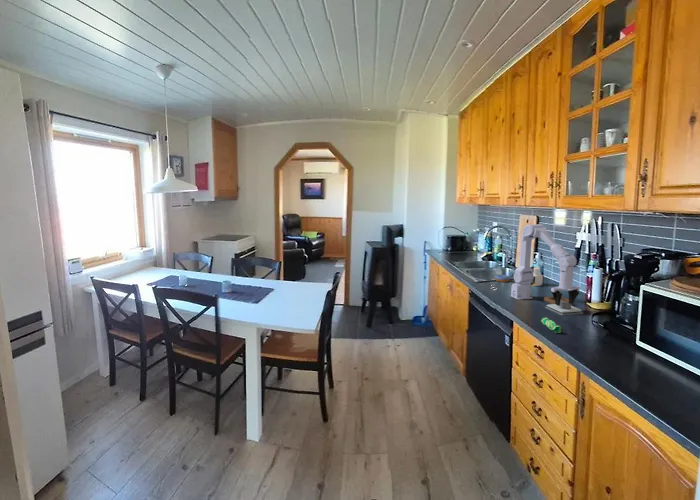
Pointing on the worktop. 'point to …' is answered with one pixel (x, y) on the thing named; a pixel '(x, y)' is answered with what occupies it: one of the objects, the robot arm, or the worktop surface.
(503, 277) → the doughnut
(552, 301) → the box
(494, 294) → the worktop surface
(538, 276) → the medicine bottle
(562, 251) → the robot arm
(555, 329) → the candy
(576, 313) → the mat
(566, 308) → the lid
